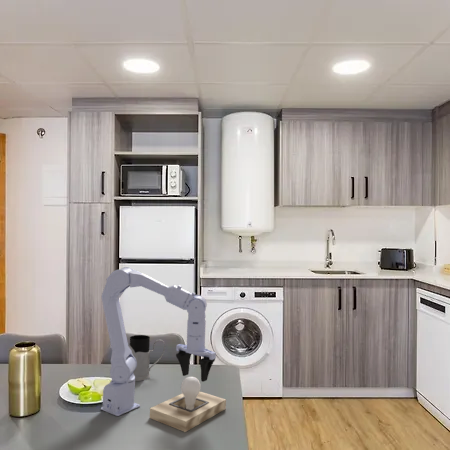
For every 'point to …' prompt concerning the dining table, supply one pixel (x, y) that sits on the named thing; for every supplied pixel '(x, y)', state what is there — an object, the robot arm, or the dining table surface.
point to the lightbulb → (190, 391)
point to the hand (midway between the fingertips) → (194, 377)
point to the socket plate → (187, 411)
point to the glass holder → (142, 355)
